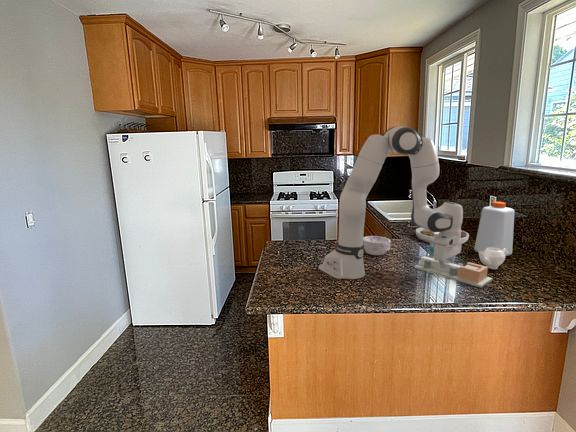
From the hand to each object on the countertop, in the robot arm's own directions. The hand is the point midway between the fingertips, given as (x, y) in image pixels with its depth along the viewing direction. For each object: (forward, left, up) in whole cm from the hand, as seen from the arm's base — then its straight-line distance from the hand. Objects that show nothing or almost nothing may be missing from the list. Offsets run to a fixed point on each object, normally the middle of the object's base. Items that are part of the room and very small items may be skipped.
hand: (446, 266), depth 158 cm
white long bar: (+1, 0, -2) cm, 2 cm away
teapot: (+12, +23, -3) cm, 26 cm away
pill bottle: (-12, +16, -3) cm, 21 cm away
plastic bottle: (+4, +47, -3) cm, 47 cm away
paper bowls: (-38, -1, -3) cm, 39 cm away
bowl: (-27, +52, -4) cm, 59 cm away
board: (+3, 0, -3) cm, 4 cm away
